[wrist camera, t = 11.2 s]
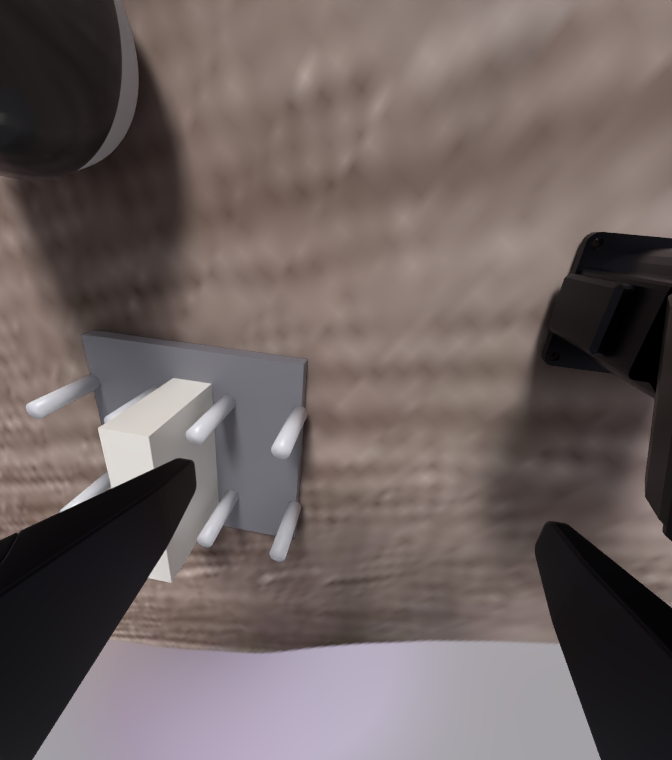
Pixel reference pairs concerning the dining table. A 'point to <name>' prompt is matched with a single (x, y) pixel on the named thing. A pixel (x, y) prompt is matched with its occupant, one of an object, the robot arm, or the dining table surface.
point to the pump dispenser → (63, 85)
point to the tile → (166, 456)
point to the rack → (211, 421)
